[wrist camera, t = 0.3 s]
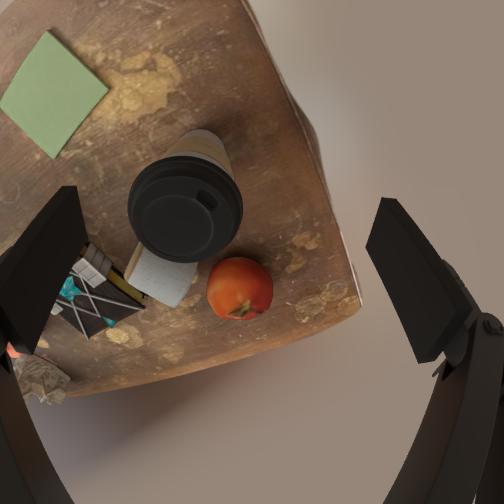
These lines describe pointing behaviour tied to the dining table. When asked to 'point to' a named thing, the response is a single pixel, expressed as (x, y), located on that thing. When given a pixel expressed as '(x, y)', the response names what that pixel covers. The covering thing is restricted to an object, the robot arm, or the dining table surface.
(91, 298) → the book
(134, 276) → the ceramic mug
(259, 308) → the tomato
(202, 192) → the coffee cup
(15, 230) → the dining table surface
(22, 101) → the sage mat
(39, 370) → the ceramic cottage
